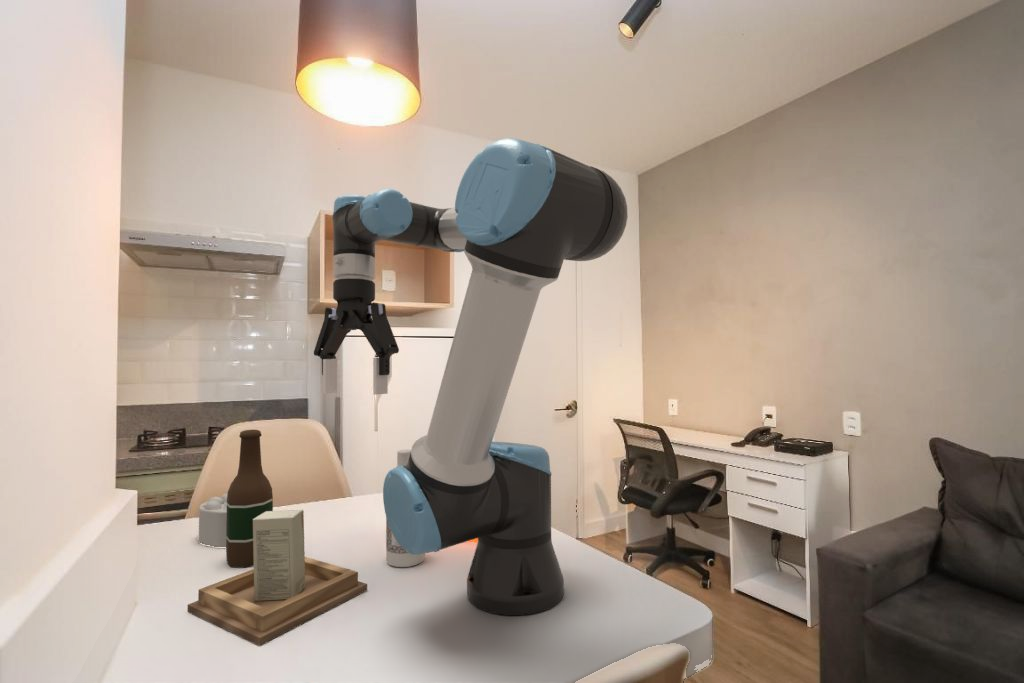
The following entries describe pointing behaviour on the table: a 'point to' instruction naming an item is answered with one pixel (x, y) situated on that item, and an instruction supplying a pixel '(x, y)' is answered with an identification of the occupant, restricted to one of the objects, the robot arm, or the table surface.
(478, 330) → the robot arm
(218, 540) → the lumpy-topped squat cylinder
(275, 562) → the skincare box
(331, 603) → the wooden tray
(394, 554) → the bath foam
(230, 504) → the beer bottle
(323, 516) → the table surface
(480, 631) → the table surface
